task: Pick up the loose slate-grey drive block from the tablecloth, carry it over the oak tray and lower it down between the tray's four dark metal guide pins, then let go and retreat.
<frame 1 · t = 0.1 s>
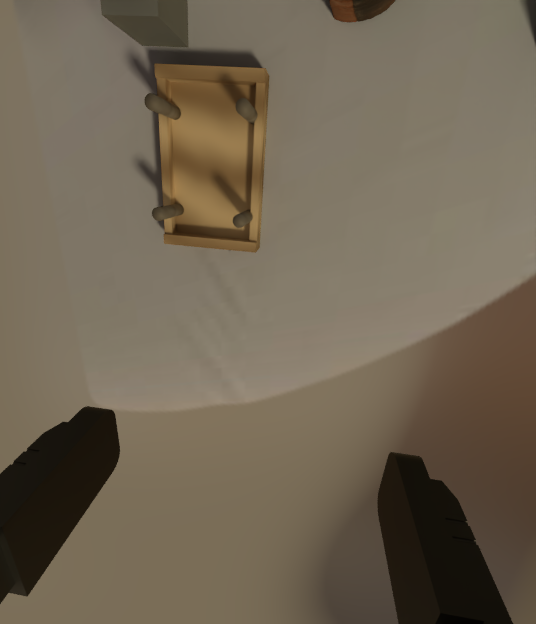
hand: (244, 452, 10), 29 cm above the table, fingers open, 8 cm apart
pin tray: (216, 166, 34), on the table
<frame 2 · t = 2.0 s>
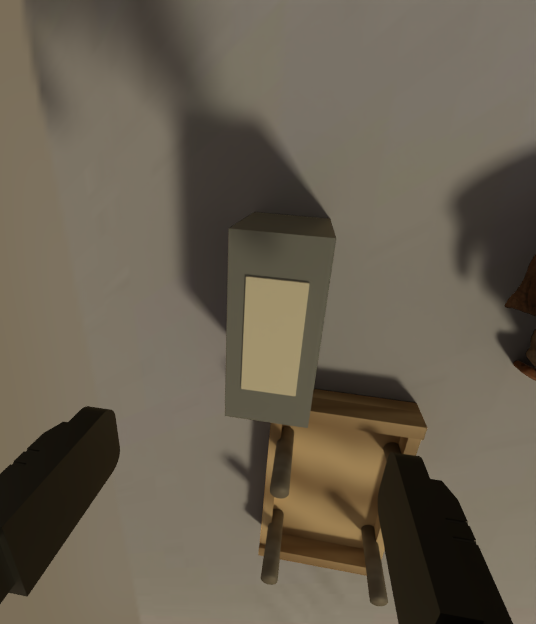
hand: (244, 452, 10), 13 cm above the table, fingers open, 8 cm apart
drive block: (284, 293, 22), on the table
pin tray: (329, 473, 27), on the table
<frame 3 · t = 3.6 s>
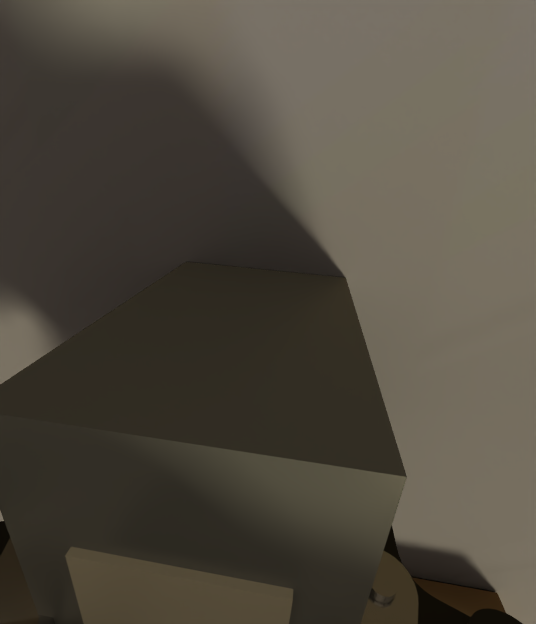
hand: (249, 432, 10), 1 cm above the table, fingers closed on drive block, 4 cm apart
drive block: (255, 412, 11), on the table, touching gripper
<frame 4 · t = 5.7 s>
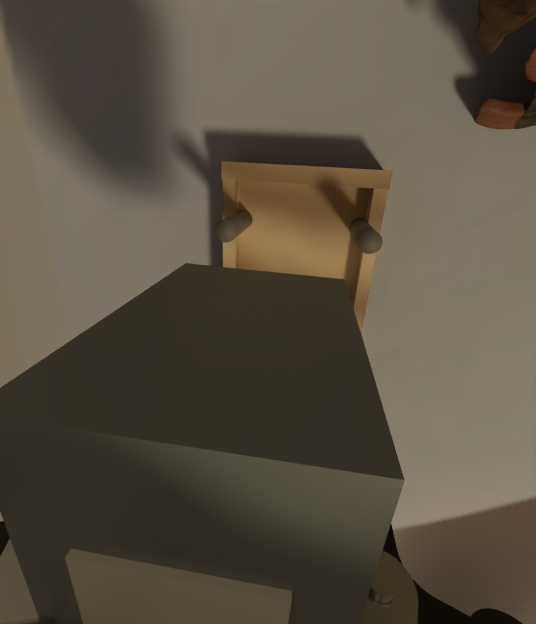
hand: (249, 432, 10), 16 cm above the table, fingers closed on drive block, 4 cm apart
drive block: (254, 414, 11), point 15 cm above the table, touching gripper
pin tray: (295, 282, 25), on the table
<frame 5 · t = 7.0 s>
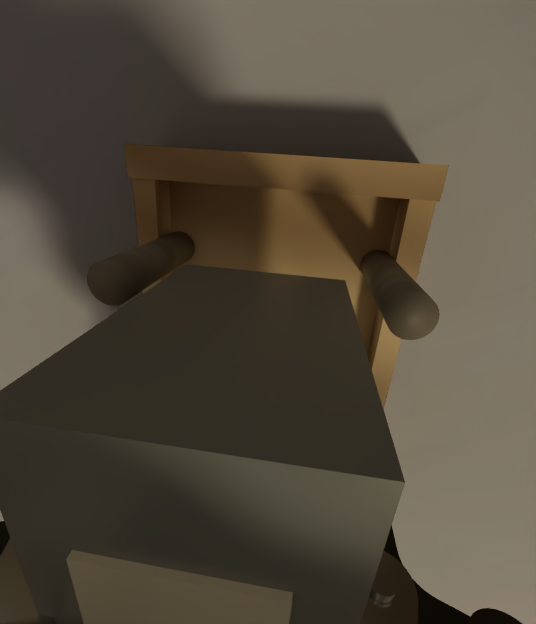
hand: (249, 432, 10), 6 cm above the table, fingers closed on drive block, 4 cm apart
drive block: (254, 414, 11), point 5 cm above the table, touching gripper
pin tray: (270, 345, 15), on the table
when the fingers open (4 cm above the table, at t = 7.8 s): drive block drops 2 cm, resting on pin tray.
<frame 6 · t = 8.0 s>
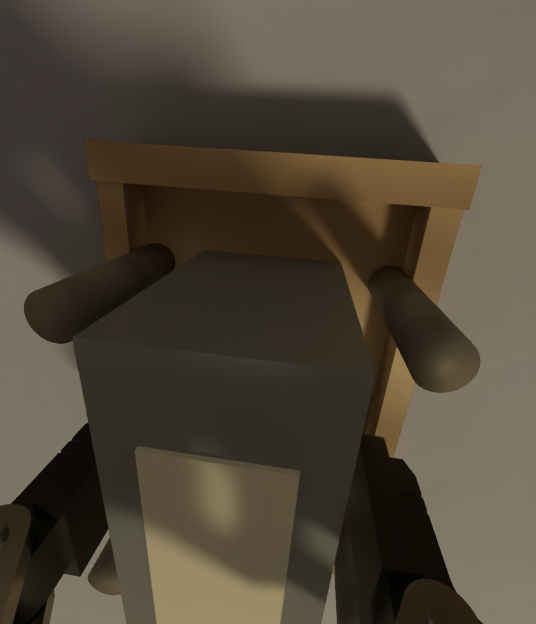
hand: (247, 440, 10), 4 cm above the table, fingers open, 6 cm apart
drive block: (262, 384, 13), point 1 cm above the table, touching pin tray
pin tray: (265, 370, 14), on the table
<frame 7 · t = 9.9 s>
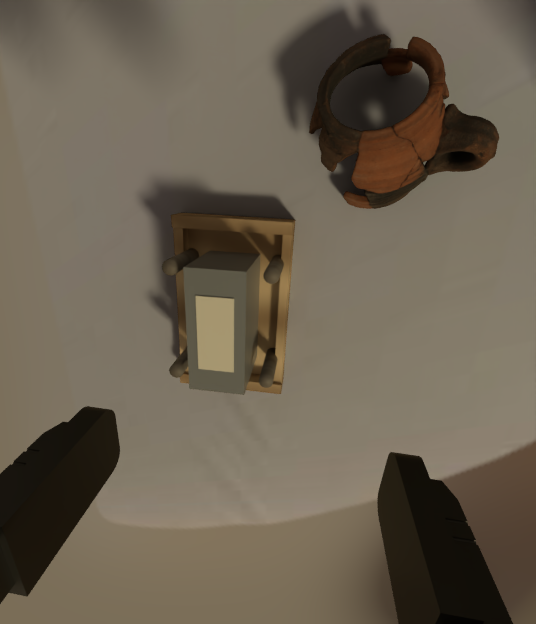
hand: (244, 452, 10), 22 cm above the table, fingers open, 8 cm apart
drive block: (234, 305, 31), point 1 cm above the table, touching pin tray
pin tray: (236, 302, 32), on the table
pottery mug: (387, 142, 26), on the table
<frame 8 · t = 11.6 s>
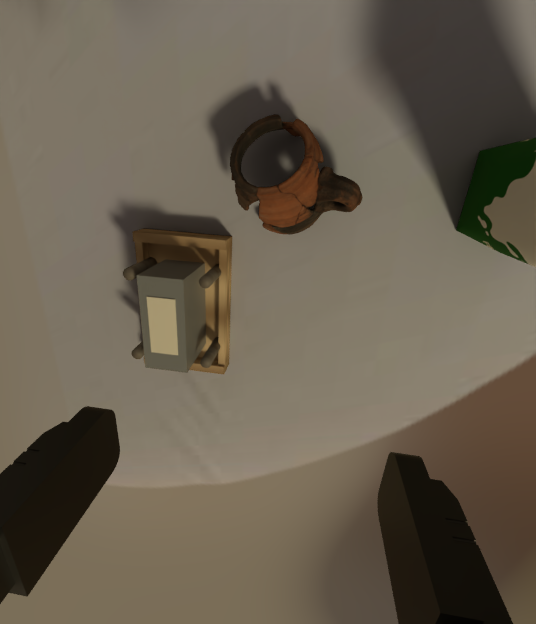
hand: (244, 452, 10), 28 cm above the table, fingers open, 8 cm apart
milk carton: (503, 196, 31), on the table
drive block: (186, 303, 38), point 1 cm above the table, touching pin tray
pin tray: (189, 300, 39), on the table
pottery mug: (296, 184, 33), on the table
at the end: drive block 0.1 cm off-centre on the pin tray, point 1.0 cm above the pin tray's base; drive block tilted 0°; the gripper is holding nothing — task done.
